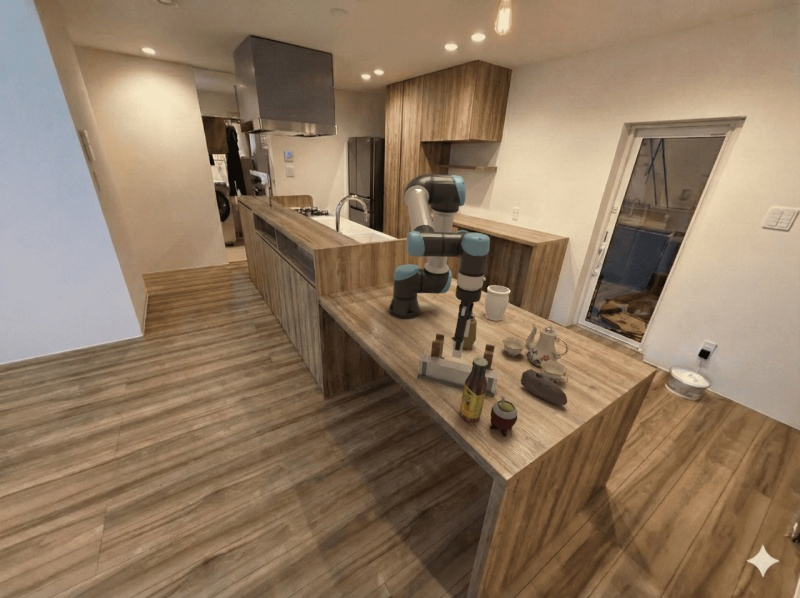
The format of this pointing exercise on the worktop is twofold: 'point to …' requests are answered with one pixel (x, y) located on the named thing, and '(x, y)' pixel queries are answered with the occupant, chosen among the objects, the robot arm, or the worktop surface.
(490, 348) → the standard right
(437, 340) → the standard left
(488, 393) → the mat
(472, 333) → the squeeze bottle
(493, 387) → the rail
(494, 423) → the mate gourd
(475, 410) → the sauce bottle
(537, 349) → the chinaware
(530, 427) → the worktop surface
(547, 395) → the perforated stone tool
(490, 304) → the jar
